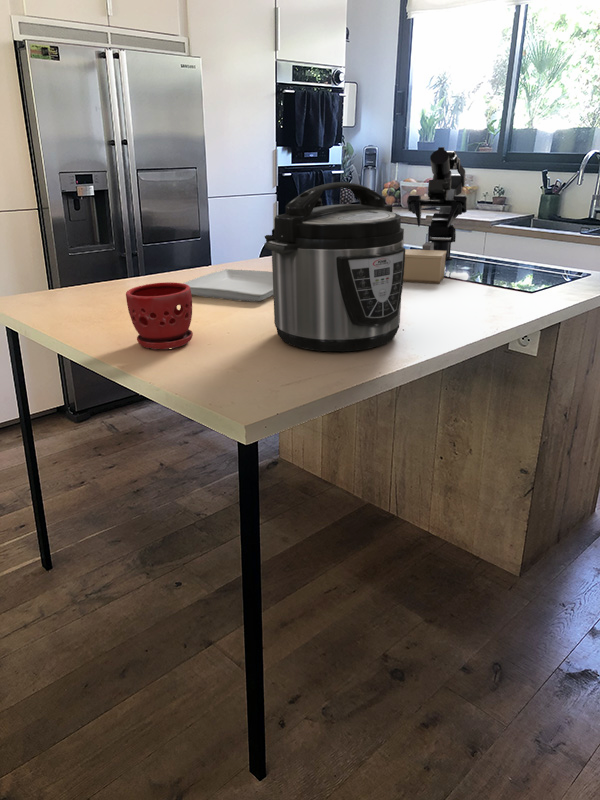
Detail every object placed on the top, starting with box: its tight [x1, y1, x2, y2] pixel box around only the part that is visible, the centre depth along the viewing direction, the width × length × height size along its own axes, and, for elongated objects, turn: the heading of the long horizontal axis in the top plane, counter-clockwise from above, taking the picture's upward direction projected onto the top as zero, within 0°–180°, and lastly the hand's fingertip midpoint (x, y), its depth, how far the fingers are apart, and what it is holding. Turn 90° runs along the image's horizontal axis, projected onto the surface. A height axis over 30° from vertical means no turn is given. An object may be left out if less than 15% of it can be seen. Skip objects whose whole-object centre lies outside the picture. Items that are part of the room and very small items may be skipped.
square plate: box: [182, 268, 273, 302], centre depth 182 cm, size 27×27×4 cm
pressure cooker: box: [264, 181, 406, 352], centre depth 132 cm, size 30×28×32 cm
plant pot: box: [125, 281, 194, 350], centre depth 133 cm, size 13×13×12 cm
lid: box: [405, 241, 447, 259], centre depth 194 cm, size 17×12×3 cm
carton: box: [403, 255, 446, 285], centre depth 192 cm, size 10×12×7 cm
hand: (433, 226), depth 204 cm, fingers open, 9 cm apart
